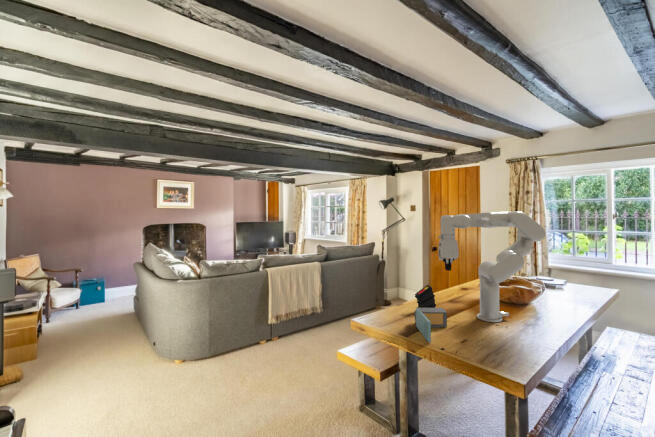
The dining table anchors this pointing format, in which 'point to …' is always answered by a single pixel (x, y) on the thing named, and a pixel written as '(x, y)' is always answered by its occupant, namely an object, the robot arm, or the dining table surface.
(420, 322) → the side door
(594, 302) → the dining table surface
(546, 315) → the dining table surface
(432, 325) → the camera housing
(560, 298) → the dining table surface
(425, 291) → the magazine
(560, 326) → the dining table surface
